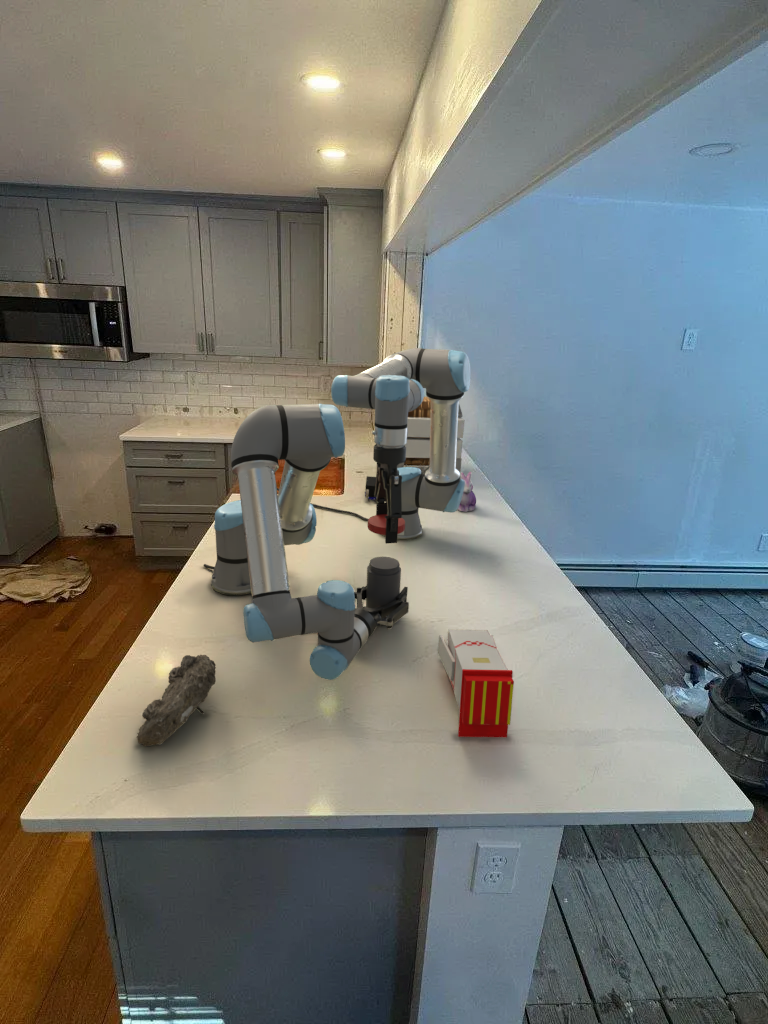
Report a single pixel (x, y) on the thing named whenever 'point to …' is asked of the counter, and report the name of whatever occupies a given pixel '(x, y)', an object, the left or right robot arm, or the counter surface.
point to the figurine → (467, 495)
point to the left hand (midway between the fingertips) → (389, 587)
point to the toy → (478, 682)
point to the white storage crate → (426, 436)
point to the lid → (383, 524)
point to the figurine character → (370, 488)
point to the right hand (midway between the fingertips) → (386, 534)
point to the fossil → (178, 699)
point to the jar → (382, 581)
